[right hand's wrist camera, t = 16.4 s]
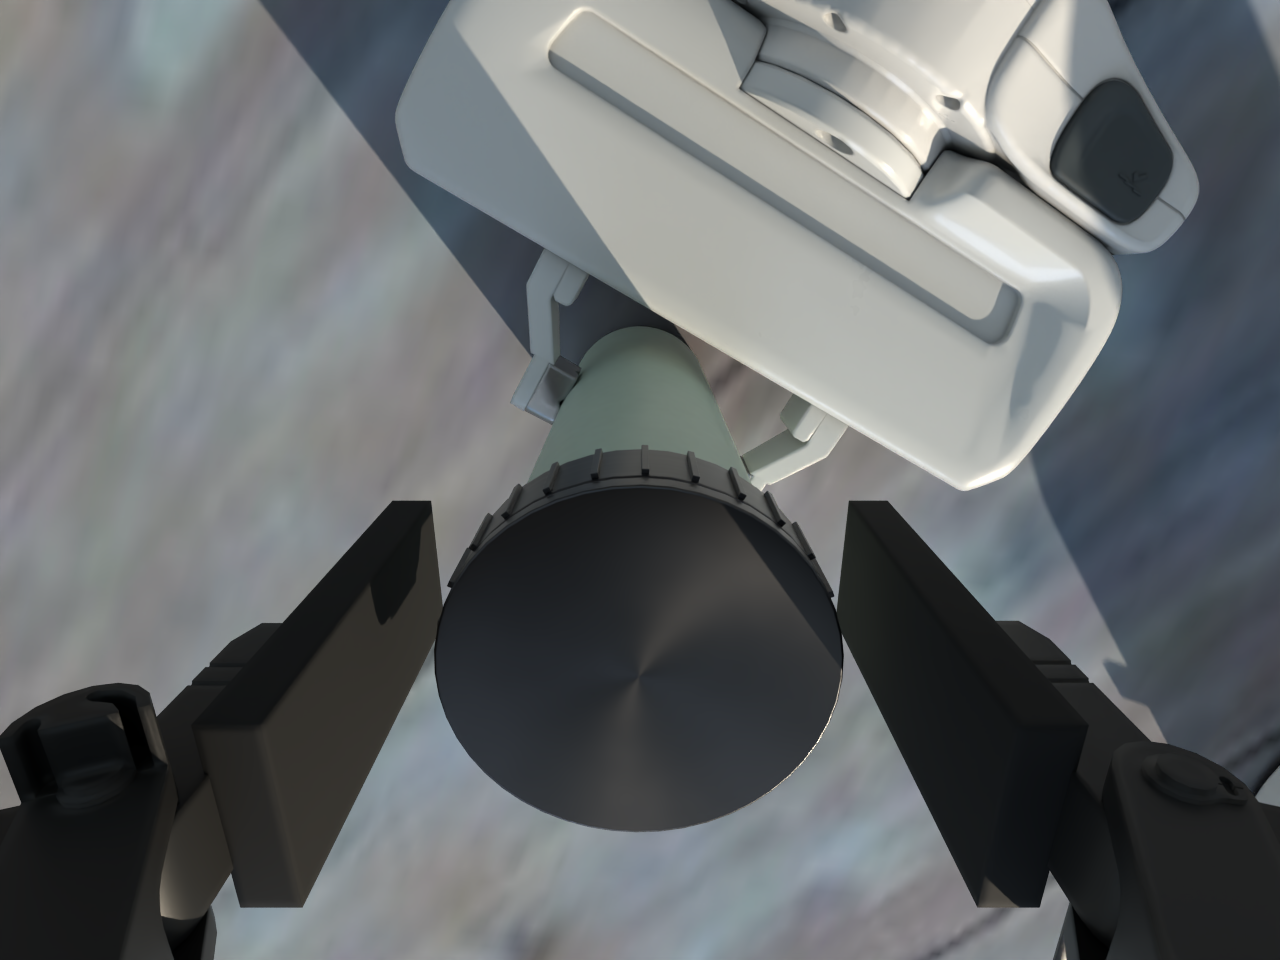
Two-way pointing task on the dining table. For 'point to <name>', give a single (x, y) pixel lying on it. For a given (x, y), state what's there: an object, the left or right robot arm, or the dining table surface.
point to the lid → (638, 643)
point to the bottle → (640, 404)
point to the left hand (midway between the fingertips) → (627, 461)
